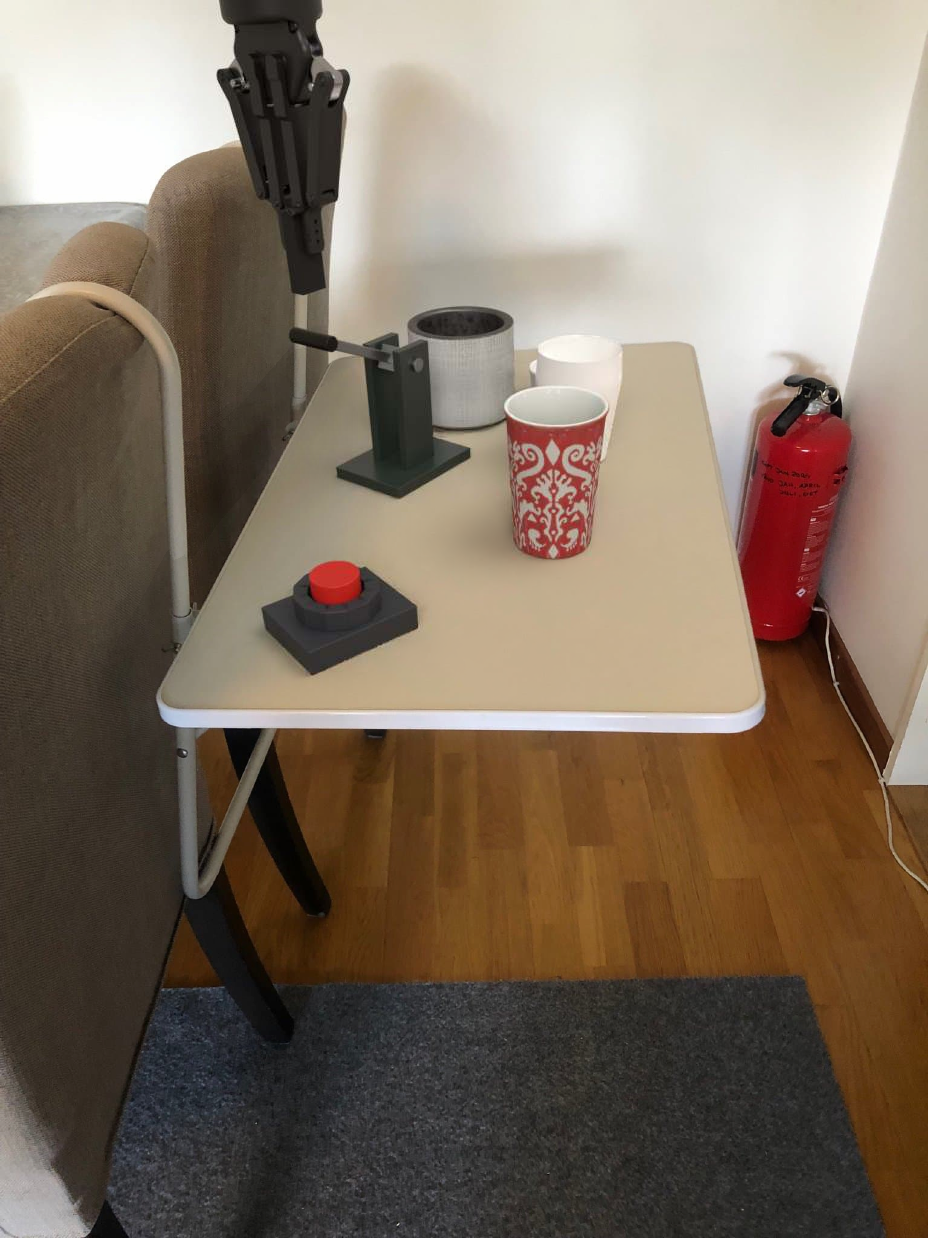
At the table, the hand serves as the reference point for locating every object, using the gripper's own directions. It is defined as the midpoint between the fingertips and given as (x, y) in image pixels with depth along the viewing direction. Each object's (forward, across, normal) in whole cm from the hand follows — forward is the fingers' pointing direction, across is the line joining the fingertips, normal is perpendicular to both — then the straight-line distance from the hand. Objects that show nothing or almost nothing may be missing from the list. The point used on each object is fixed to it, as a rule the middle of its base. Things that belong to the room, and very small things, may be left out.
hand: (309, 289), depth 80 cm
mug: (+22, -20, -9) cm, 31 cm away
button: (+18, -15, +14) cm, 28 cm away
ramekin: (+22, -2, -37) cm, 43 cm away
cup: (+22, -13, -24) cm, 35 cm away
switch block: (+22, -15, +14) cm, 30 cm away
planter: (+22, +5, -27) cm, 35 cm away
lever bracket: (+22, +1, -11) cm, 25 cm away
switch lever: (+9, +1, -6) cm, 10 cm away
